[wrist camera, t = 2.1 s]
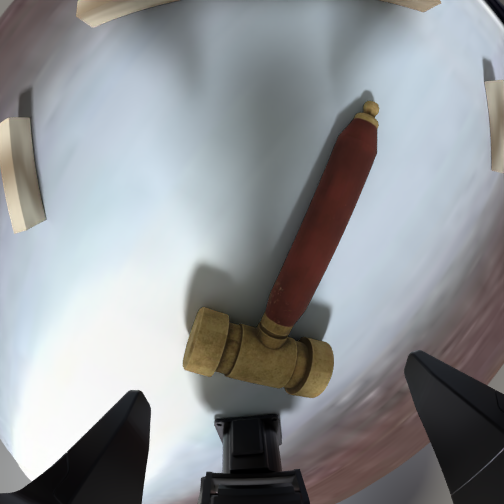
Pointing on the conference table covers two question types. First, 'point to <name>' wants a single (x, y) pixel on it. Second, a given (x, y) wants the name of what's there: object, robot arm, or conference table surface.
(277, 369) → the gavel
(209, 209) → the conference table surface
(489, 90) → the wooden bars
